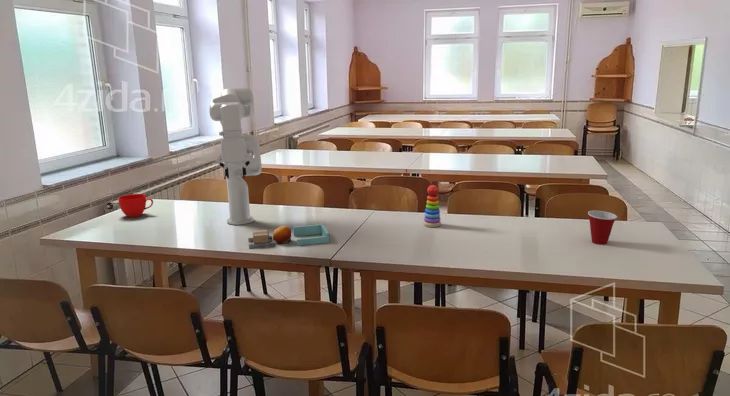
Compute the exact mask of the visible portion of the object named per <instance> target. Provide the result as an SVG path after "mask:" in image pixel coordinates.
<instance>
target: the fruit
mask: <svg viewBox="0 0 730 396" xmlns="http://www.w3.org/2000/svg"><path fill="white" fill-rule="evenodd" d="M291 238H292V229H291V228H290V227H289V226H287V225H281V226H279V227H276V228H275V229H274V230H273V233H272V241H274V242H276V243H277V244H288V241H292V239H291Z"/></svg>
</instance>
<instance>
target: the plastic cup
mask: <svg viewBox="0 0 730 396" xmlns="http://www.w3.org/2000/svg"><path fill="white" fill-rule="evenodd" d="M587 215H588V217H589V228H590V229H589V230H590V236H591V243H593V244H596V245H607V244H608V242H609V239H610V235H611V232H612V229H613V225H614V223H615V222H616V220H617V218H618V215H616V214H615V213H613V212H609V211H604V210H603V211H602V210H589V211H587Z"/></svg>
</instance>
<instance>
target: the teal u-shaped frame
mask: <svg viewBox="0 0 730 396" xmlns="http://www.w3.org/2000/svg"><path fill="white" fill-rule="evenodd" d="M292 229H293V230H292V231H293V237H300V236H301V237H302V236H310V235H311V236H312V235H313V236H314V235H321V236H315V237H304V238H303V237H302V238H296V245H297V246H305V245H307V246H308V245H315V244H326V243H327V244H328V243H330V237H329V235H330V233H329V231H328V230H327V228H326V227H325V225H324V223H319V224H318V223H317V224H308V225H307V224H306V225H300V226H299V225H298V226H293V227H292Z"/></svg>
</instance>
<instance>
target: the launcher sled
mask: <svg viewBox="0 0 730 396" xmlns="http://www.w3.org/2000/svg"><path fill="white" fill-rule="evenodd" d="M270 236H271V235H270V231H269V230H267V229H264V230H252V238H253V244H257V243H267V242H271V240H270Z"/></svg>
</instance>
